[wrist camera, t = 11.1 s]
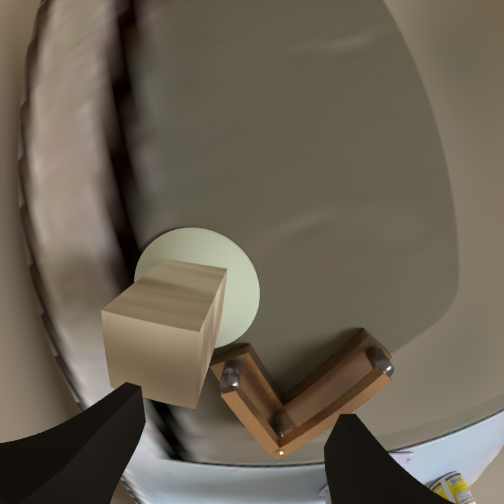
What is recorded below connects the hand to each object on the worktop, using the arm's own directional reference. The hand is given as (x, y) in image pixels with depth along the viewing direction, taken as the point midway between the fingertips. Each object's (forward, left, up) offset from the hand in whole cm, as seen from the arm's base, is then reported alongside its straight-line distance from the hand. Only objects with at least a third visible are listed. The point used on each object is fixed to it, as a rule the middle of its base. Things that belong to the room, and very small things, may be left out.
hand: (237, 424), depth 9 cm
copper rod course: (-5, -5, -10) cm, 12 cm away
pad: (0, +4, -10) cm, 11 cm away
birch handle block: (0, +4, -10) cm, 10 cm away
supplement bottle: (-21, -38, -10) cm, 45 cm away
